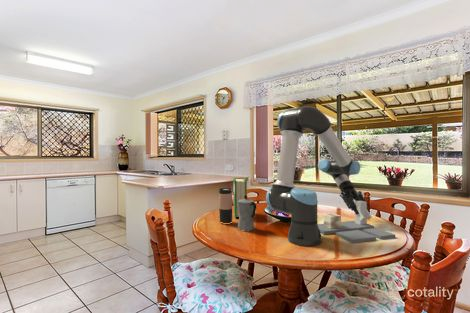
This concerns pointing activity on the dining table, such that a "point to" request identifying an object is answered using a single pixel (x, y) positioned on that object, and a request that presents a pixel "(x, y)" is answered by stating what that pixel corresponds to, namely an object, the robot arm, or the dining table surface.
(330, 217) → the birch cube
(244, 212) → the coffeepot
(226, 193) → the travel mug
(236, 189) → the hardback book
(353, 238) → the broken strip
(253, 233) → the dining table surface
